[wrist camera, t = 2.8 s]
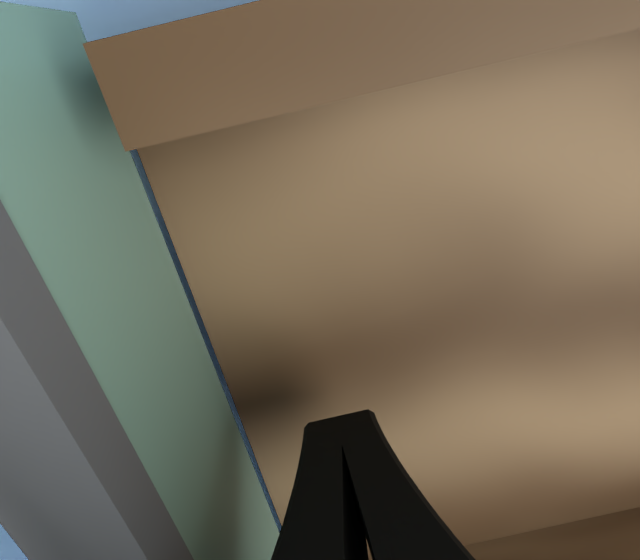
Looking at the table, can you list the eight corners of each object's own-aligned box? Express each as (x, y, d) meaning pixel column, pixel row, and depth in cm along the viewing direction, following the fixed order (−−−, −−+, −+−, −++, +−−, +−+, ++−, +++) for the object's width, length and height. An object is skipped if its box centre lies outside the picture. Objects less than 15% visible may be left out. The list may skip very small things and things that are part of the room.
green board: (319, 627, 15) (339, 874, 11) (282, 635, 15) (285, 884, 11) (81, 11, 7) (-215, -35, 3) (6, 30, 7) (-405, 12, 3)
